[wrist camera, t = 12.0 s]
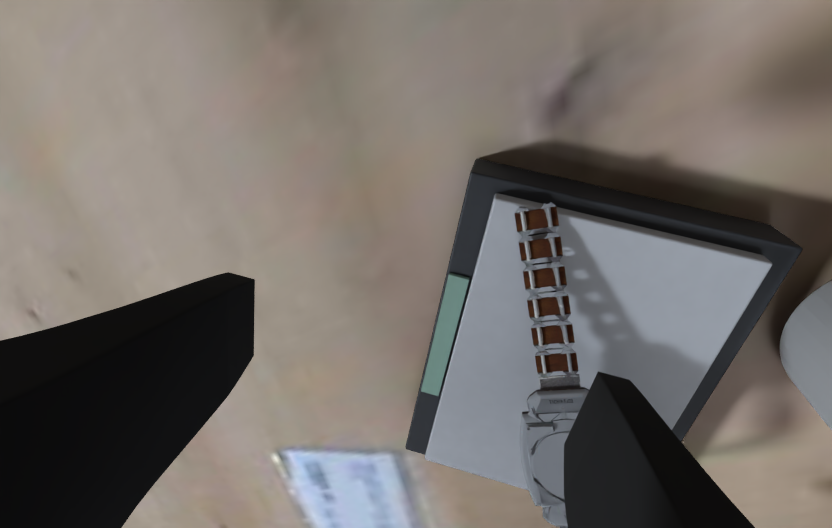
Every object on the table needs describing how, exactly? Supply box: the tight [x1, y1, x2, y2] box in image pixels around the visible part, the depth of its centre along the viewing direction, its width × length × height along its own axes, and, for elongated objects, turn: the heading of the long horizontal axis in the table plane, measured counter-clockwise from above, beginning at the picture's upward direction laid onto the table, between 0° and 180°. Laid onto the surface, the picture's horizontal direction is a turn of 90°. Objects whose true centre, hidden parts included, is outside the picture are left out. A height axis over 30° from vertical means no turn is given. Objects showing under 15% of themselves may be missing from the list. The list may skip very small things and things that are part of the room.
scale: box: [406, 159, 802, 490], centre depth 19 cm, size 14×11×3 cm
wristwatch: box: [515, 202, 589, 528], centre depth 17 cm, size 4×14×5 cm, turn 13°
